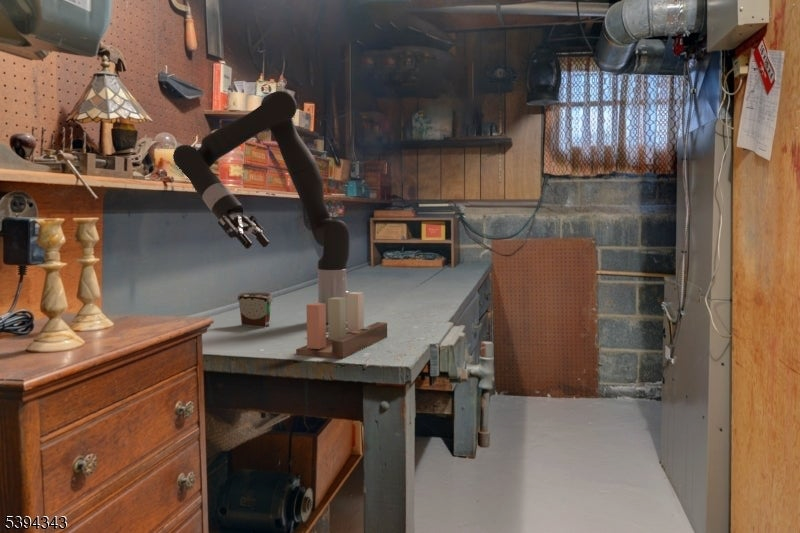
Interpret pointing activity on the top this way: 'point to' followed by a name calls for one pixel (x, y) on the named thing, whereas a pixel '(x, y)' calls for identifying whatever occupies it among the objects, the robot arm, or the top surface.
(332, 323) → the sage key
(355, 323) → the tan upright block
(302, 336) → the top surface
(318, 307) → the terracotta key
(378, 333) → the brown wooden base
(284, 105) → the robot arm
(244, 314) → the food container
